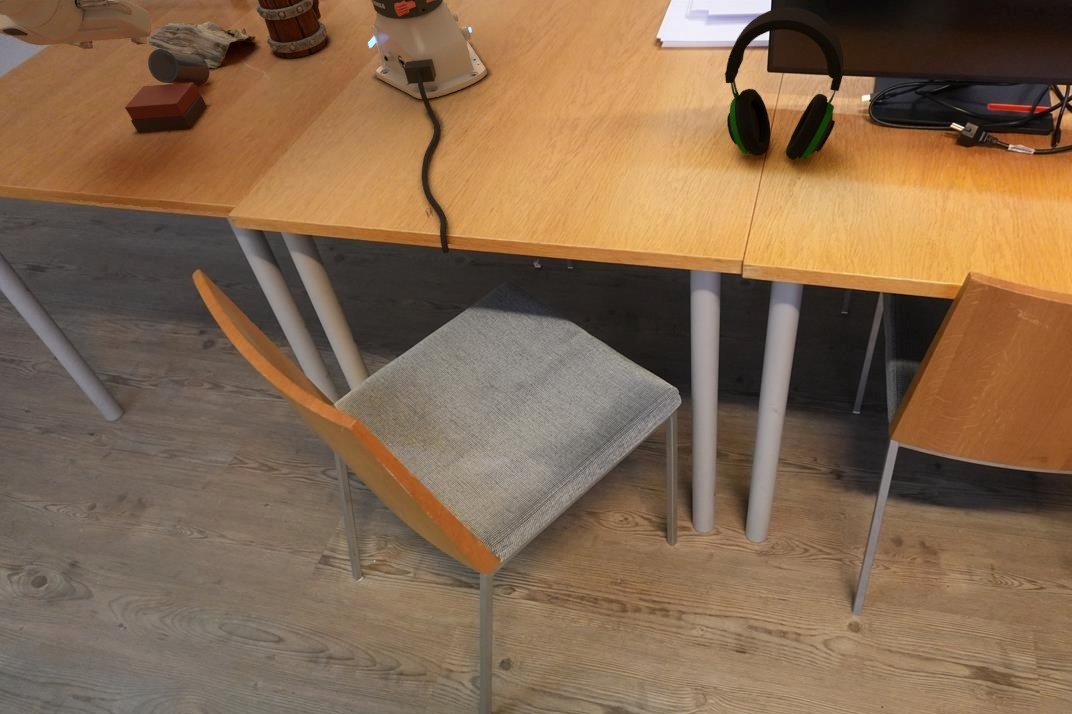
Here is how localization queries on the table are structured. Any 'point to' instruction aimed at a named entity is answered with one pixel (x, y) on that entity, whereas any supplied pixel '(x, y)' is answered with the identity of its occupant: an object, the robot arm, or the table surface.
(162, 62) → the cup
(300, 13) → the mug
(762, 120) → the headphones
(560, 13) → the table surface
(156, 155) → the table surface
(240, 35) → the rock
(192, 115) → the notebooks
